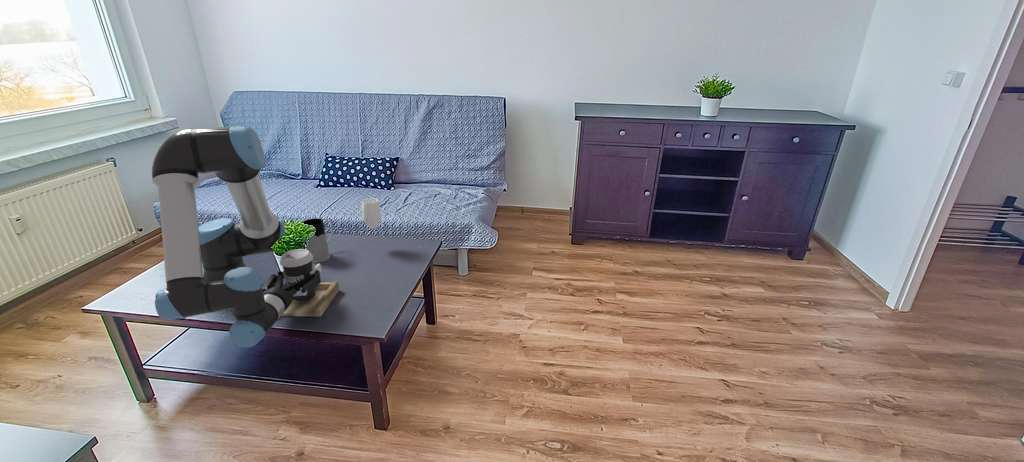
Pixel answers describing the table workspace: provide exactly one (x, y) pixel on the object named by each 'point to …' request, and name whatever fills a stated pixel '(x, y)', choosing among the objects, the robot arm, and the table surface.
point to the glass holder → (319, 240)
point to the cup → (371, 212)
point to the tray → (314, 301)
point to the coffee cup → (297, 268)
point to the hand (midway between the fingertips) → (306, 267)
